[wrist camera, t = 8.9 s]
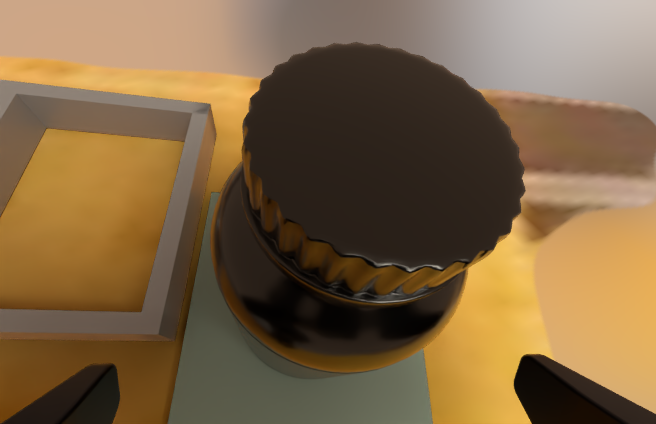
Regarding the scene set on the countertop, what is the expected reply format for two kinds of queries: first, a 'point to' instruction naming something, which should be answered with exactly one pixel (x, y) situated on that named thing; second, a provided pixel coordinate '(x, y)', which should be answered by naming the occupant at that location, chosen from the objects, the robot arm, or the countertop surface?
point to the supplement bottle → (359, 208)
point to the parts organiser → (182, 215)
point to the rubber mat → (277, 375)
